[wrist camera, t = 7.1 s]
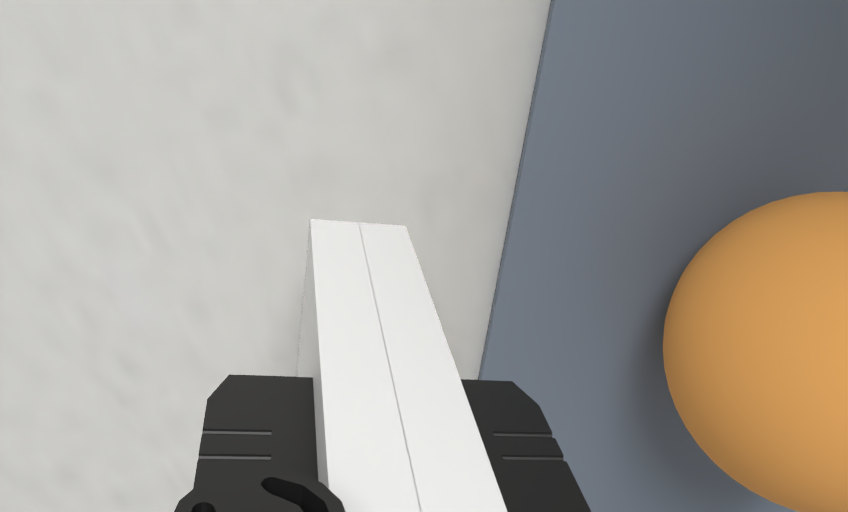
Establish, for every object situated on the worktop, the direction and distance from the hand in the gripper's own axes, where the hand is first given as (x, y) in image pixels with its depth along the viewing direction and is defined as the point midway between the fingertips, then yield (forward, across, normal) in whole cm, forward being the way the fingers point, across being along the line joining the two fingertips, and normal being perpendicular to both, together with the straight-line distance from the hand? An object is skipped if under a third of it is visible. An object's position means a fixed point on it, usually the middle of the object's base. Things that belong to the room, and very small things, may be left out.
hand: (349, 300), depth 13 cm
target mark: (+2, +9, 0) cm, 9 cm away
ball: (-1, +8, 0) cm, 8 cm away
